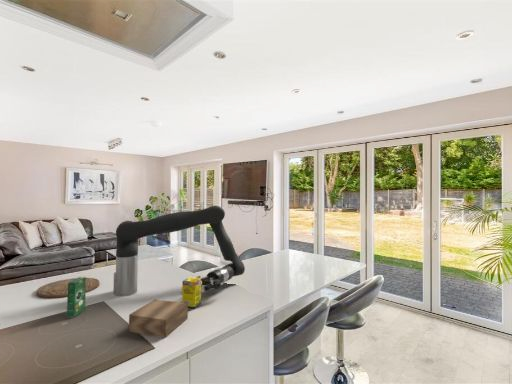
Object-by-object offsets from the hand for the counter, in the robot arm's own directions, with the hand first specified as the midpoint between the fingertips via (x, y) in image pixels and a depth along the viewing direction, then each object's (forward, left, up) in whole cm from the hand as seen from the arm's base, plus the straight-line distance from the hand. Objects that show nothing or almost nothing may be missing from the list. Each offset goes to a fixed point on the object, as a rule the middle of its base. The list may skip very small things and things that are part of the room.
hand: (196, 287), depth 116 cm
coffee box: (-41, -19, -7) cm, 46 cm away
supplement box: (-1, -3, -7) cm, 8 cm away
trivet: (-67, +4, -7) cm, 67 cm away
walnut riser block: (-5, -21, -7) cm, 23 cm away
